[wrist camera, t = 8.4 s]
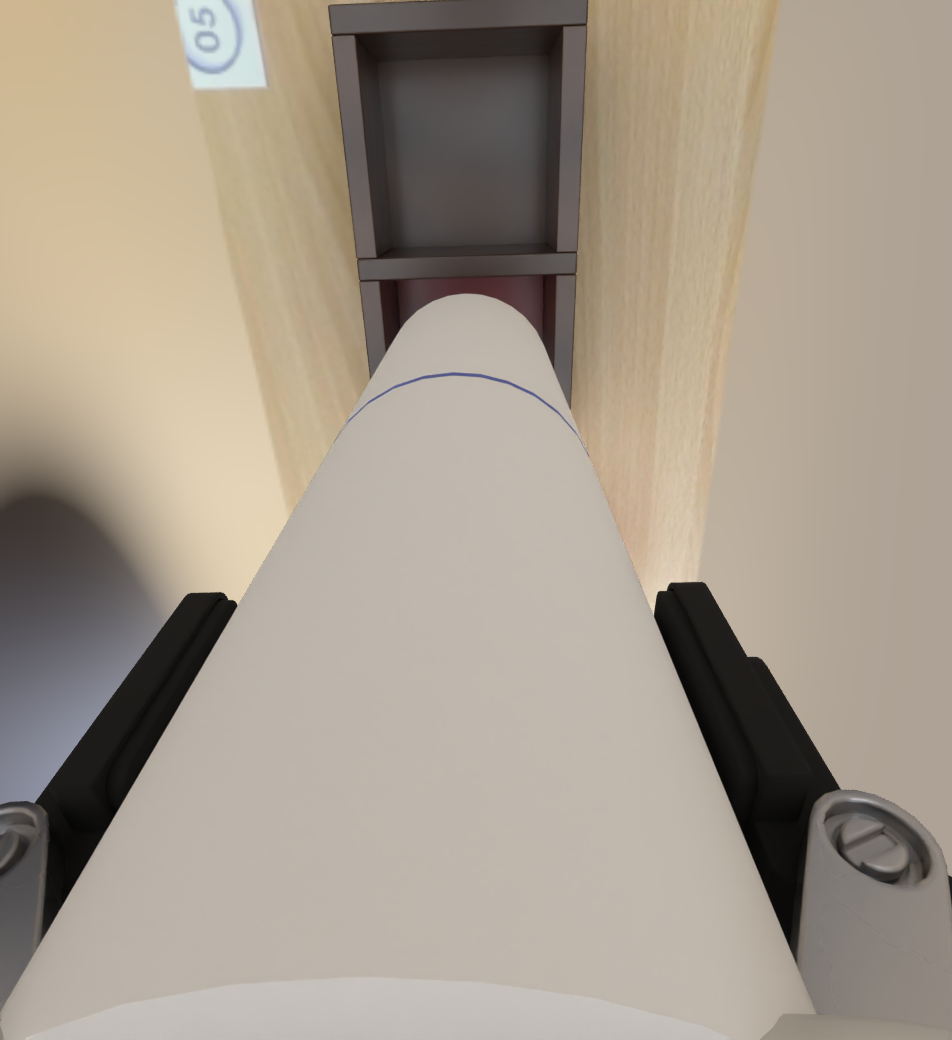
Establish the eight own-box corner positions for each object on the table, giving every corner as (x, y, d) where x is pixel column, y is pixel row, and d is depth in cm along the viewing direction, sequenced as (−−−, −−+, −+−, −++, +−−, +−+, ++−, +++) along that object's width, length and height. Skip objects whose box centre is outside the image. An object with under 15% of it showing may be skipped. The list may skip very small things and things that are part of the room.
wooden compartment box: (358, 41, 31) (327, 4, 25) (567, 32, 31) (588, -7, 25) (395, 421, 40) (379, 463, 34) (555, 417, 40) (568, 458, 34)
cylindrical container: (565, 308, 26) (1092, 1039, 4) (531, 465, 29) (694, 1342, 7) (394, 280, 25) (-223, 916, 3) (380, 442, 28) (34, 1306, 6)
